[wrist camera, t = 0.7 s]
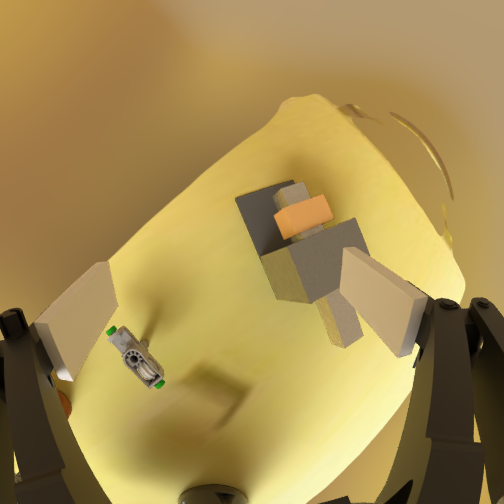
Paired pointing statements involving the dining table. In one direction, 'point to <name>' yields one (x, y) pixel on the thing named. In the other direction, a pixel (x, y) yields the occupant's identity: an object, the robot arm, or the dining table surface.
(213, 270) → the dining table surface
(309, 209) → the block
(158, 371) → the mechanical component
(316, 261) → the block
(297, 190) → the shaft
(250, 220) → the mat
